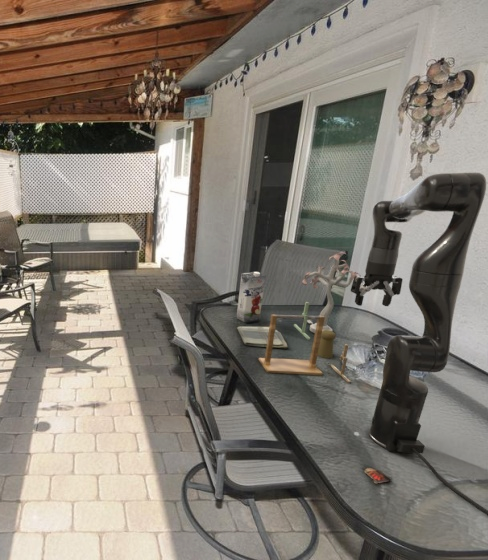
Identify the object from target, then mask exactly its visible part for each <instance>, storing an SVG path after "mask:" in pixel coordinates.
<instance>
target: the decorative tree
mask: <svg viewBox="0 0 488 560" xmlns="http://www.w3.org/2000/svg"><path fill="white" fill-rule="evenodd" d="M341 254H344V255H347V253H346V252H343V251H340V252H337V253H335V254H333V255H331V256H330V257H328V262H329V263H330V261H331V259H332V258H334V263H333V264H332V266H331V267H330V270H329V273H328V274H327V275H325V274H324V269H325V271H327V268H326V267H324V266H316V269H317V270H318V271H313V272H311V271H308V272H306V273H305V275H304V278H303V280H302V281H301V282H302V285H304V286H307V284H308V282H307V280H308V279H310V278H311V277H314V278H312V279H311V281H310V282H309V283H310V284H312V283H313V286H312V287H313V288H314V289H316V290H319V288H318V285H317V283H321V284H322V285H323V286H324V287H326V289H325V290H326V291H325V292H326V297H327V304H326V305H325V306H324V308H323V309H322V310H321V311H320V313H319V316H324V317H325V319H324V325H323V330H329V331H332V332H334V331H333V328H332V327H330V326H329V325H328V322H329V317H330V315H331V313H332V311H333V309H334V306H335V301H334V299H333V296H332V295H333V294H332V287H333V286H336V287H338V288H348V287H349V286H350V285H352V283H353V280H354V277H355V276H357V275H359V277H362V275H361V274H360V272H359V273H358V272H357V271H352V270H349V269H350V266H349V264H348V263H347V261H346V260H345V259H341ZM341 261H342V262H344V264H340V262H341ZM342 268H343V269H342ZM335 272H336V273H337V276H335ZM347 273H350V277H349V279H348V281H346V282H343V280H344V279H345V277H346V274H347ZM334 276H335V277H334ZM326 280H327V281H326ZM307 324H309V331H310V332H311V333H313V334H315V331H316V325H317V322H315V323H314V322H313V321H311V319H307ZM323 330H322V331H323Z"/></svg>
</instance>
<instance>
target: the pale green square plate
mask: <svg viewBox="0 0 488 560" xmlns="http://www.w3.org/2000/svg"><path fill="white" fill-rule="evenodd" d="M269 327H270V326H238V327H237V328H236V329H237V331H238V333H239V336H240V338H241V340H242V342H243V344H244V345H245V346H249V347H257V348H267V341H268V334H269ZM288 348H289V346H288V344H287V342H286V340H285V338H284V337H283V335H282V333H281V331H278V330H277V329H275V334H274V341H273V347H272V349H286V350H287V349H288Z"/></svg>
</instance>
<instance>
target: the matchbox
mask: <svg viewBox="0 0 488 560" xmlns="http://www.w3.org/2000/svg"><path fill="white" fill-rule="evenodd" d="M363 471H364V473H365V474H367V476H368V477H370V479H372V482H373V483H374V484H376V485H378V483H379V484H381V483H386V482H389V481H391V480H392V478H390V477H389V476H388V475H387V474H385V473H384V472H382V471H380V470H378V469H374V468H372V467H367V468H365V470H363Z"/></svg>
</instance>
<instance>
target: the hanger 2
mask: <svg viewBox="0 0 488 560" xmlns="http://www.w3.org/2000/svg"><path fill="white" fill-rule="evenodd" d="M342 349H343V350H342V354H340V356H339V360H340V361H342V364H341V369H338V368H337V367H336V366H335V365H334V364H330V367H331V368H332V369H333V371H334V372H336V373H337V374H338V375H339V376H340V377H341V378H342V379H343V380H344V381H345V382H346V383H347V384H351V383H352V381H351V380H350V379H349V378H348V377H347V376H346V375H345V370H346V366H347V361H348V358H347V355H348V350H349V344H348V343H344V345H343V348H342Z"/></svg>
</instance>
